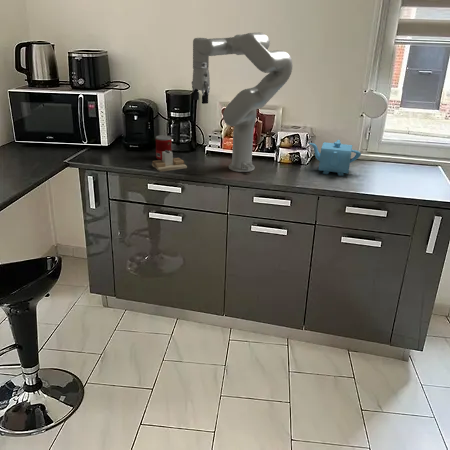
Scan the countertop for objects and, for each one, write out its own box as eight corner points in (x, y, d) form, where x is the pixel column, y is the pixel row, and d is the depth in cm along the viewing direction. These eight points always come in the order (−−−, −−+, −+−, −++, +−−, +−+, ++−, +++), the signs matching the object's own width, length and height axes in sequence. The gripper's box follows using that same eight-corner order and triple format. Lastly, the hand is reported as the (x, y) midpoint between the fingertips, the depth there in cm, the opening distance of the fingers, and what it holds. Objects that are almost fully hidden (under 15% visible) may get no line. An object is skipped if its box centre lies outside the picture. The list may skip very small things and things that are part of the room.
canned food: (170, 160, 244) (170, 139, 239) (155, 160, 244) (154, 138, 239) (172, 156, 251) (172, 135, 246) (157, 155, 251) (156, 134, 246)
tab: (172, 164, 235) (172, 151, 232) (165, 165, 233) (164, 152, 231) (169, 162, 238) (169, 149, 235) (162, 163, 236) (162, 150, 233)
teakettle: (360, 175, 234) (365, 145, 228) (331, 180, 225) (335, 149, 219) (334, 164, 248) (338, 135, 242) (305, 168, 240) (308, 139, 234)
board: (187, 168, 234) (187, 163, 233) (160, 171, 228) (159, 166, 227) (178, 162, 242) (178, 157, 241) (152, 165, 236) (152, 160, 235)
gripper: (216, 67, 228) (215, 104, 235) (199, 63, 241) (199, 98, 248) (202, 67, 224) (201, 105, 231) (185, 63, 238) (185, 99, 245)
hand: (200, 101), depth 240 cm, fingers open, 9 cm apart
